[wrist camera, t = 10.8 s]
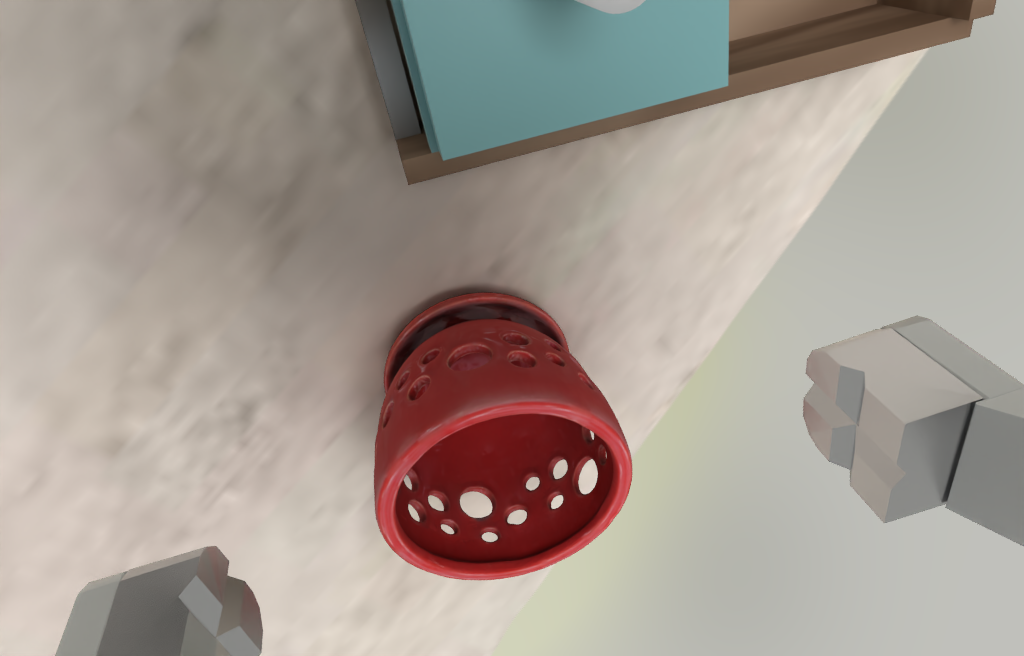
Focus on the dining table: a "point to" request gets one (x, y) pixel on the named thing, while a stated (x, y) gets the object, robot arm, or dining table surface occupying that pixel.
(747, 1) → the bay
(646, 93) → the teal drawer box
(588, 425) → the plant pot
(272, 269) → the dining table surface
